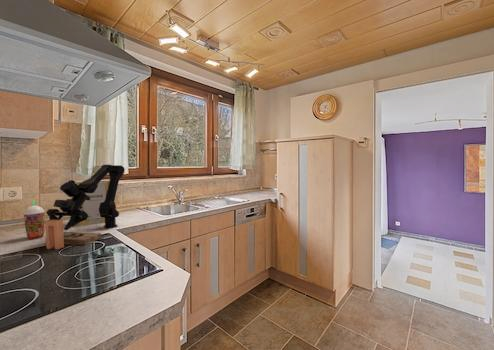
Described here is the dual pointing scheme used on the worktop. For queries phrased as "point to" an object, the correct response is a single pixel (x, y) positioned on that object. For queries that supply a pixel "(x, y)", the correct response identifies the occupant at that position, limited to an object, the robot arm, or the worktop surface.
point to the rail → (80, 238)
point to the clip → (54, 234)
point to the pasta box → (94, 204)
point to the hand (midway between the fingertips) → (56, 229)
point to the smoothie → (34, 221)
